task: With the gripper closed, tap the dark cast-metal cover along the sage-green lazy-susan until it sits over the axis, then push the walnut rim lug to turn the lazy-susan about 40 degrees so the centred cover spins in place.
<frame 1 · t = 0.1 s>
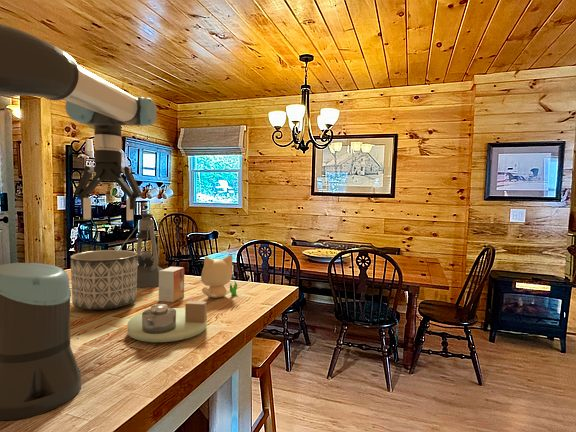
hand: (108, 219, 115), 28 cm above the counter, fingers open, 13 cm apart
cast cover: (159, 328, 93), point 3 cm above the counter, touching turntable
planter: (105, 305, 119), on the counter
lantern: (142, 283, 148), on the counter
small box: (171, 299, 128), on the counter
turntable: (168, 314, 98), point 4 cm above the counter, hinge at 0.0°, touching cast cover
kitten: (217, 297, 132), on the counter
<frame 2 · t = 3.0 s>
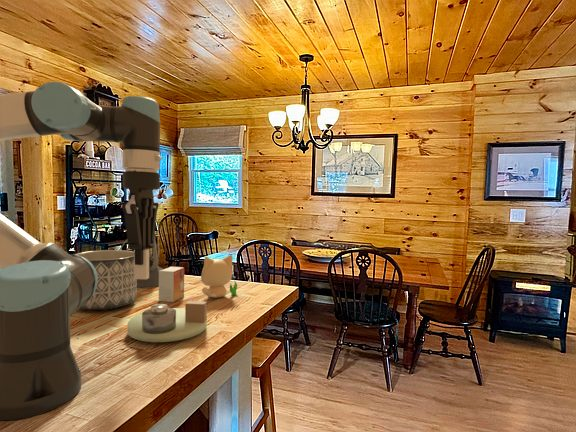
hand: (141, 278, 82), 18 cm above the counter, fingers closed
nothing on the counter moved.
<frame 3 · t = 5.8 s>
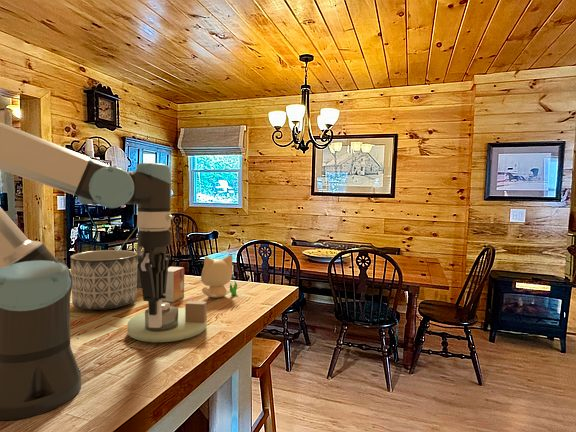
hand: (155, 326, 89), 5 cm above the counter, fingers closed
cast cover: (161, 325, 94), point 3 cm above the counter, touching gripper, turntable
everything else where it was.
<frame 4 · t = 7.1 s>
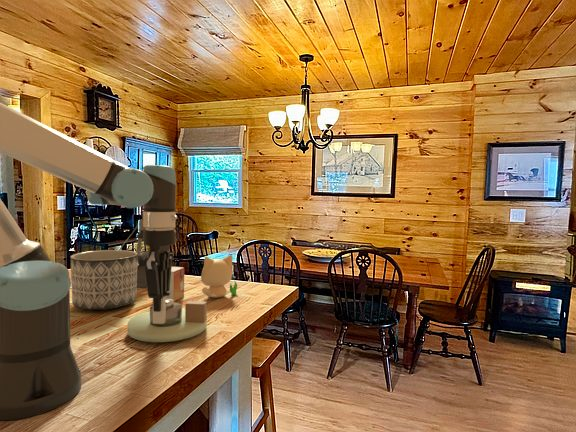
hand: (159, 322, 92), 4 cm above the counter, fingers closed
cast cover: (166, 321, 97), point 3 cm above the counter, touching gripper, turntable
everything else where it was.
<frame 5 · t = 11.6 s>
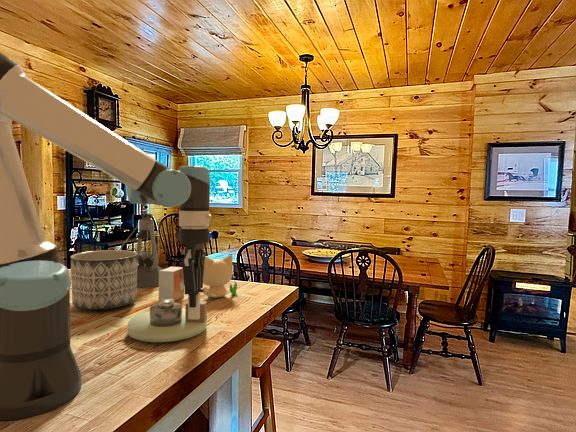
hand: (194, 318, 95), 5 cm above the counter, fingers closed
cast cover: (166, 321, 97), point 3 cm above the counter, touching turntable
turntable: (168, 314, 98), point 4 cm above the counter, hinge at 0.8°, touching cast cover, gripper
everything else where it was.
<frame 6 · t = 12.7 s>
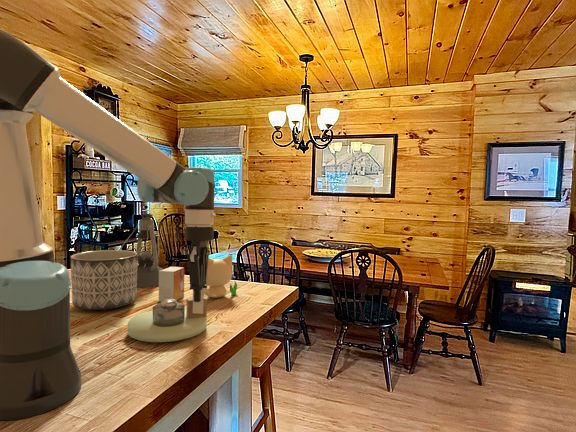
hand: (198, 312, 100), 5 cm above the counter, fingers closed
turntable: (168, 314, 98), point 4 cm above the counter, hinge at 30.2°, touching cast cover, gripper
everything else where it was.
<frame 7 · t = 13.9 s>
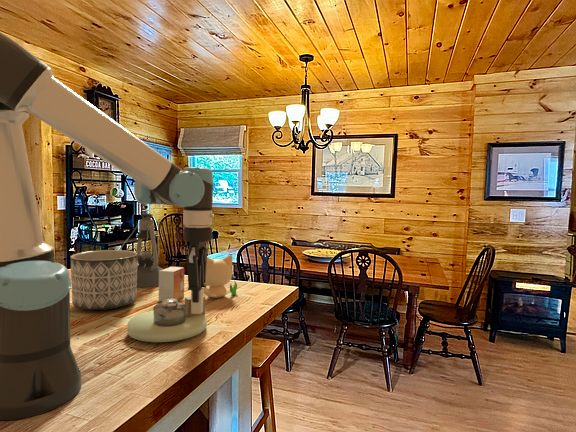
hand: (197, 312, 100), 5 cm above the counter, fingers closed
turntable: (168, 314, 98), point 4 cm above the counter, hinge at 41.1°, touching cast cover, gripper
everything else where it was.
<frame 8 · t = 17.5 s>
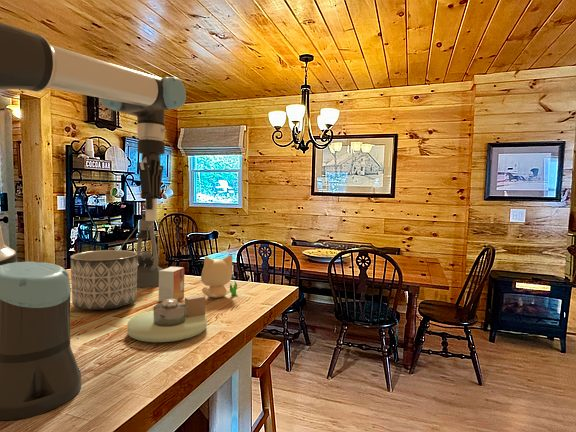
hand: (151, 220, 110), 28 cm above the counter, fingers closed
turntable: (168, 314, 98), point 4 cm above the counter, hinge at 40.4°, touching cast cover
everything else where it was.
at the end: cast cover 1.3 cm from the turntable (horizontally); turntable at +40° (first picture: +0°); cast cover tilted 0° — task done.
